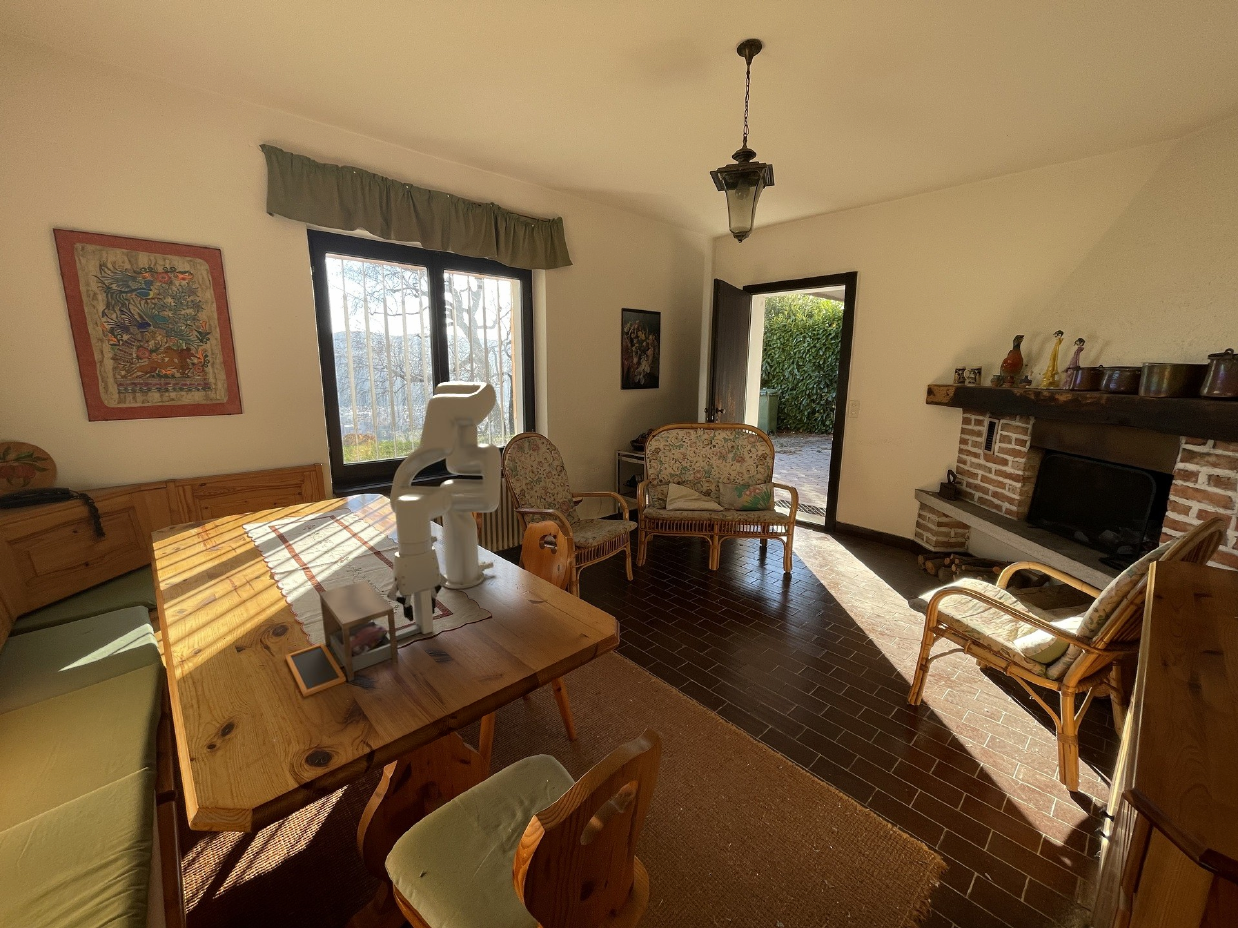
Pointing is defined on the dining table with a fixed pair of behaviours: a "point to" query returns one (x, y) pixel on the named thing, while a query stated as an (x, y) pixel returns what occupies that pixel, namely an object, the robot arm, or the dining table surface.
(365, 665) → the grey drawer with handle
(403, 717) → the dining table surface
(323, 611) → the brown wooden stand
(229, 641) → the dining table surface
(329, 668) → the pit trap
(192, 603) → the dining table surface
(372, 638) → the video game controller
